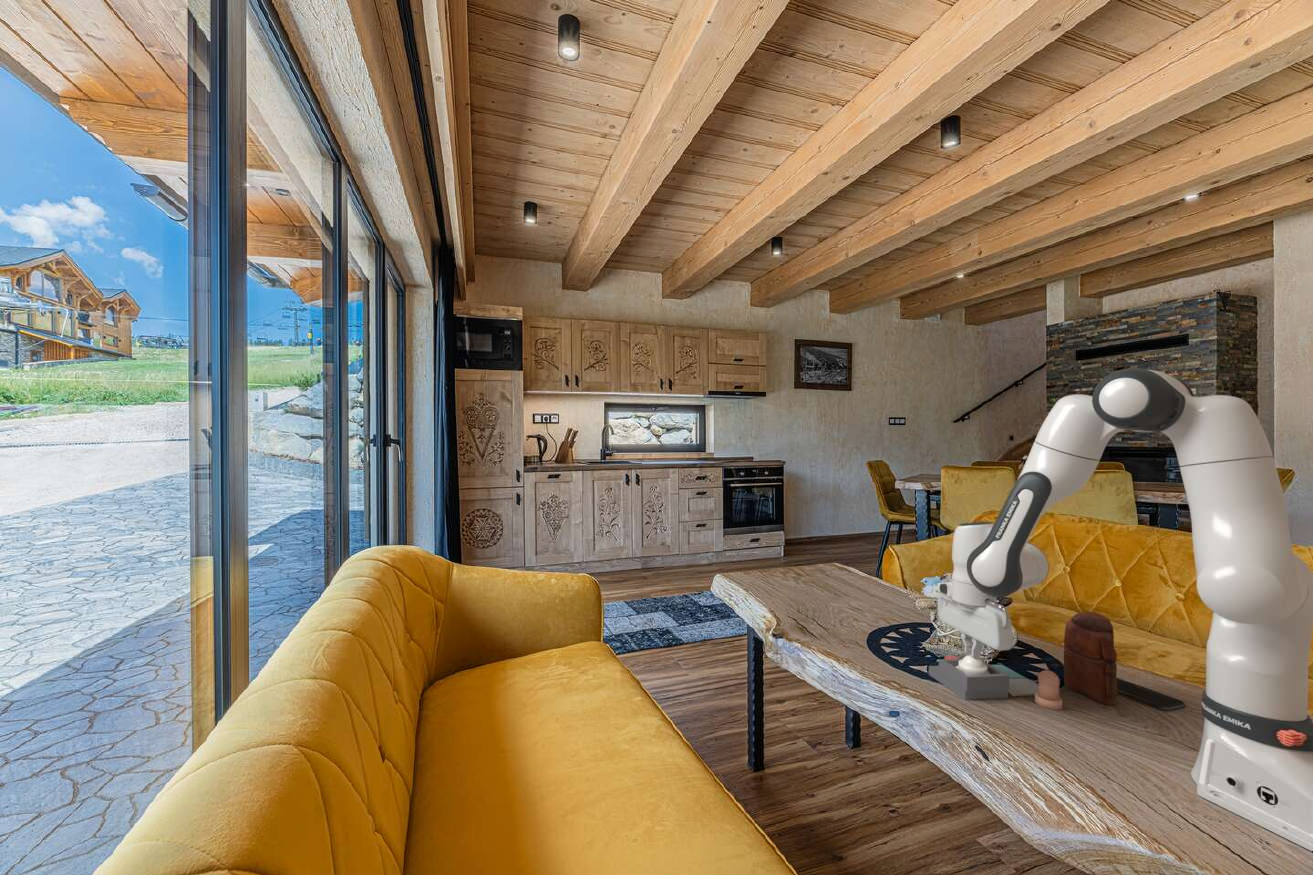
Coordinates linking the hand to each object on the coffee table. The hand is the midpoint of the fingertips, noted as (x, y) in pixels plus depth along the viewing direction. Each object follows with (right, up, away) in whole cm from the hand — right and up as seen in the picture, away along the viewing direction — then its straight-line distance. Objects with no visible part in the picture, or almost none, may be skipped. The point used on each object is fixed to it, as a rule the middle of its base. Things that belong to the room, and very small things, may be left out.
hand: (972, 655), depth 125 cm
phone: (+36, -9, -1) cm, 37 cm away
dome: (0, -5, 0) cm, 5 cm away
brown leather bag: (+26, -8, -1) cm, 27 cm away
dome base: (0, -8, +2) cm, 8 cm away
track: (+11, -8, +5) cm, 14 cm away
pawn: (+12, -8, -7) cm, 16 cm away
